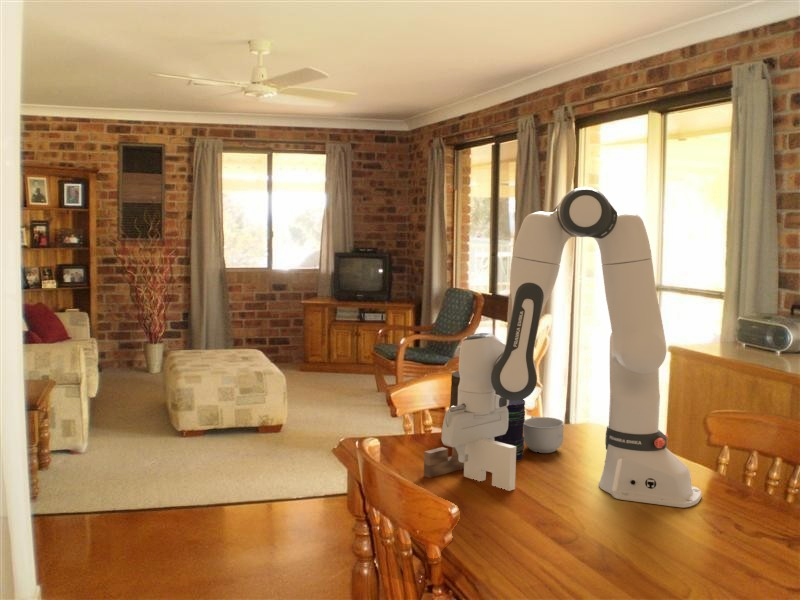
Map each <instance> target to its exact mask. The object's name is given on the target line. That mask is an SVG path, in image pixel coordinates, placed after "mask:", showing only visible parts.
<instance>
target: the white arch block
mask: <svg viewBox="0 0 800 600" xmlns="http://www.w3.org/2000/svg"><path fill="white" fill-rule="evenodd" d="M464 451H465V454H468V461H467V462H464V468H463V477H465V478H468V479H471V480H473V479H474V481H476V480H477V481H476V482H480V481H481V482H484V481H486V480H487V479H486V478H487V477H486V476H487V472H489V473H491V486H492V487H495V486H496V487H495V488H499V489H501V488H502V490H504V489H505V490H504V491H509V492H511V491H513V490H516V468H517V461H516V446H512V445H509V444H505V443H501V442H498V441H494V440H490V439H486V438H481V439H478V441H477V442H473V443H469V444H466V448H465V449H464Z"/></svg>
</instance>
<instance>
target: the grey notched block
mask: <svg viewBox="0 0 800 600" xmlns="http://www.w3.org/2000/svg"><path fill="white" fill-rule="evenodd" d="M451 448H452V450H451V456H449V448H447V447H443V446H440V447H437V448H433V449H430V450H429V449H428V450H425V451H424V453H423V477H424V478H425V477H426V478H427V479H428V478H430V479H431V478H432V479H433V478H434V477H439V476H441V475H442V476H443V475H445V474H448V473H452V472H453V473H454V472H457V471H459V469H460V470H463V469H464V463H462V462H459V460H458V455H459V454H458V453H457V451H456V449H455V447H451ZM462 468H463V469H462Z"/></svg>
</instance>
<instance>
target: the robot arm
mask: <svg viewBox="0 0 800 600" xmlns="http://www.w3.org/2000/svg"><path fill="white" fill-rule="evenodd" d="M575 237H576V238H577V237H579V238H593V239H594V240H595V241H596V242H597V245H598V248H599V252H600V261H601V267H602V268H601V269H602V276H603V284H604V293H605V301H606V305H607V310H608V316H609V321H610V326H611V327H610V329H611V334H610V337H609V410H608V411H609V412H608V425H607V426H606V431H605V450H606V453H605V458H604V459H605V460H604V465H603V470H602V474H601V476H600V479H599V483H598V486H599V488H600V489H601V490H602V491H604V492H606V493H608V494H610V495H611V496H612V498H614V499H617V500H623V501H629V502H630V501H631V502H637V503H645V504H653V505H659V506H668V507H675V508H684V509H685V508H690V507H693V506H695V505H698V503H699V502H700V501H701V500H702V490H701V489H700V488H698V487H697V486H693V485H692V475H691V472H690V468H689V466H687V465H686V464H685V463H684V462H683V461H682V460H680V459H679V458H678V457H677V456H676V455H675V454H674V453H673V452H672V451H671V450H670V449H668V447H667V444H668V439H669V438H668V434H669V433H665V434H664V433H663V432H662V431H660V429H659V425H660V424H659V423H660V402H661V395H660V380H659V368H660V367H661V366H662V364H664V362H665V360H666V358H667V357H666V356H667V343H666V336H665V331H664V325H663V320H662V319H663V318H662V315H661V309H660V304H659V299H658V296H657V295H658V294H657V290H656V289H657V288H656V279H655V273H654V266H653V265H654V264H653V257H652V256H653V255H652V249H651V244H650V239H649V236H648V233H647V229H646V225H645V224H644V221H643V218H641V216H639V215H638V214H636V213H633V212H629V211H620V212H618V211H617V210H616V209H615V208H614V207H613V206H612V204H611V203H610V201H609V200H608V198H607V197H606V196H605V195H604V194H603V193H602V192H600V191H599V190H598V189H595V188H593V187H588V186H582V187H576V188H574V189H571V190H569V191H568V192H567V193H566V194H565V195H563V197H562V198H561V200H560V202H559V203H558V205H557V206H556V207H555V208H554V209H553V210H552V211H551V212H548V211H536V212H532V213H529V214H527V216H525V217H524V219H523V221H522V223H521V225H520V228H519V229H518V233H517V237H516V239H515V243H514V246H513V247H514V248H513V252H512V257H511V263H510V271H509V272H510V273H509V281H510V282H509V284H510V285H509V286H510V287H509V288H510V297H511V315H510V316H511V317H510V322H509V327H508V332H507V338H506V342H504V341H502V340H501V339H499V338H498V337H496V335H494V334H493V333H490V332H480V333H475V334H470V335H469V336H466V337H465V338H463V340H462V341H461V344H460V347H459V355H458V371H459V374H460V382H459V385H458V405H457V406H452V407H450V406H449V408H448V409H447V411H446V412H445V414H444V418H443V422H442V428H441V429H442V430H441V439H440V440H441V442H442V444H443V445H444V446H447V447H450V448H452V447H455V449H456V451H457V453H458V454H459V455H458V460H459V462H462V463H464V462H467V461H468V454H465V451H464V449H465V448H466V444H469V443H473V442H477V441H478V439H481V438H486V439H490V440H494V437H496V436H500V435H504V434H506V432H507V430H508V420H509V413H508V408H507V406H508V405H509V400H511V401H518V400H522V399H523V400H524V399H526V398H528V397H530V395H532V394H533V392H534V391H535V389H536V386H537V382H538V379H537V378H538V375H537V366H536V362H535V359H534V352H535V346H536V345H535V344H536V340H537V335H538V330H539V324H540V320H541V317H542V314H543V312H544V309H545V307H546V305H547V302H548V300H549V298H550V296H551V294H552V291H553V290H554V287H555V284H556V281H557V278H558V275H559V271H560V268H561V265H560V264H561V262H562V255H563V251H564V248H565V245H566V243H567V242H568V241H569V240H570V239H571V238H575ZM495 391H496V393H497V394H498V395H497V394H495Z"/></svg>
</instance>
